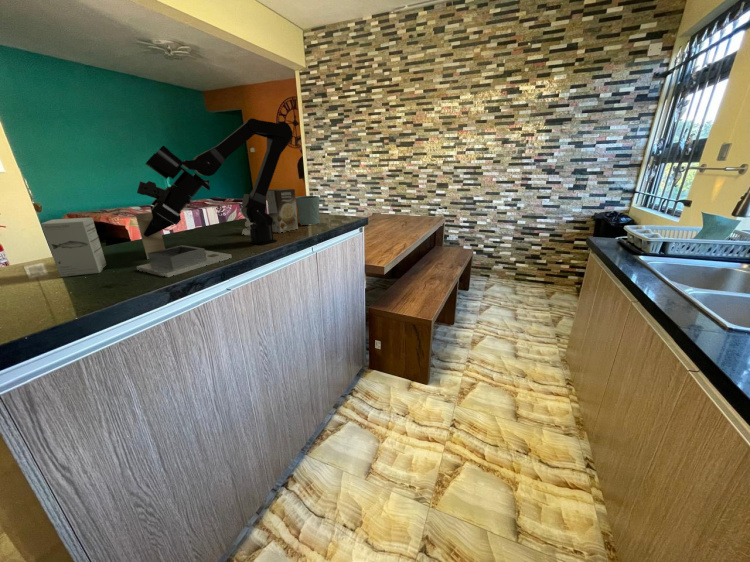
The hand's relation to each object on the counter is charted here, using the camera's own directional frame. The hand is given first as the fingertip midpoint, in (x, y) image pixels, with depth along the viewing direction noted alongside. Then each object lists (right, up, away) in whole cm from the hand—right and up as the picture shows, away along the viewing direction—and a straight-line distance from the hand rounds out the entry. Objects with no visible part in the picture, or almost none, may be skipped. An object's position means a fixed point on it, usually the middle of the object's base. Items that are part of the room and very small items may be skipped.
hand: (145, 234), depth 85 cm
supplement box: (-8, -11, -9) cm, 16 cm away
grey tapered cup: (+34, +12, +52) cm, 64 cm away
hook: (+16, +5, +34) cm, 38 cm away
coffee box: (+27, +7, +39) cm, 48 cm away
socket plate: (+14, -8, -4) cm, 17 cm away
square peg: (+1, -6, +3) cm, 7 cm away
